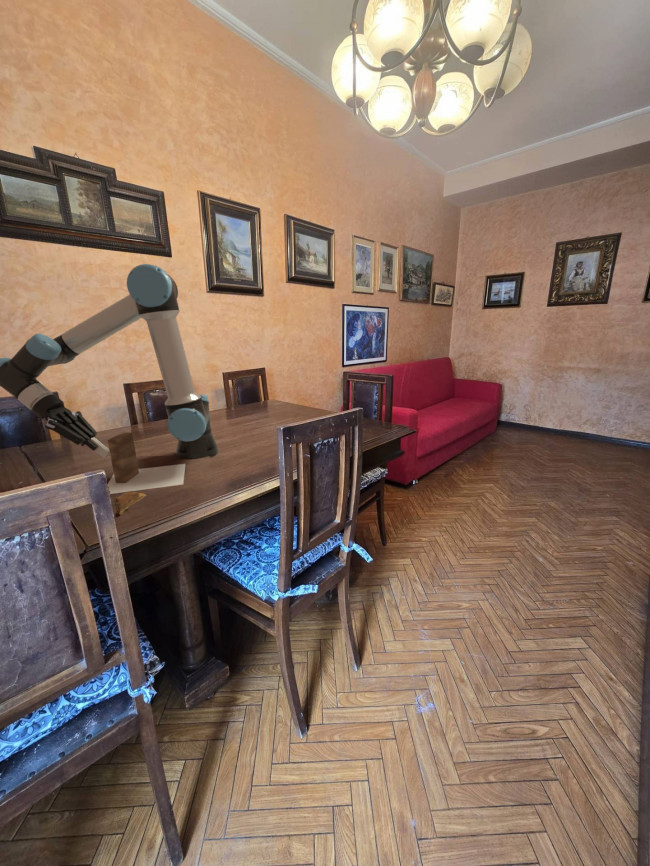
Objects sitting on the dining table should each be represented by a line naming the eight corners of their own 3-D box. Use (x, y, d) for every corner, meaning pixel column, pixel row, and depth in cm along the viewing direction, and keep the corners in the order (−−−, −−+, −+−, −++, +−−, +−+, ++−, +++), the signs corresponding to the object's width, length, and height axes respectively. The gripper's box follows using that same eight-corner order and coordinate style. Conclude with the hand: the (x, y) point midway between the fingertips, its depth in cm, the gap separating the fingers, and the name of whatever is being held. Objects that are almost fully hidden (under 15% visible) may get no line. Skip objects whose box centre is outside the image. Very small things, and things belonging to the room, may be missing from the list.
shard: (119, 517, 90) (118, 511, 90) (95, 514, 92) (94, 508, 91) (148, 498, 100) (148, 493, 100) (126, 496, 102) (125, 490, 102)
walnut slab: (115, 483, 108) (107, 440, 104) (130, 472, 115) (123, 432, 111) (125, 483, 108) (117, 440, 104) (139, 472, 115) (132, 432, 111)
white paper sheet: (185, 465, 123) (185, 463, 123) (183, 486, 107) (183, 484, 107) (115, 473, 116) (114, 471, 116) (101, 497, 100) (101, 495, 100)
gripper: (52, 406, 112) (113, 455, 116) (17, 415, 99) (86, 470, 104) (65, 389, 110) (126, 440, 115) (31, 397, 98) (100, 453, 102)
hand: (107, 454), depth 109 cm, fingers closed
